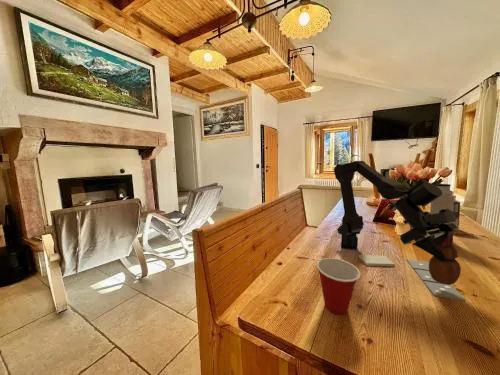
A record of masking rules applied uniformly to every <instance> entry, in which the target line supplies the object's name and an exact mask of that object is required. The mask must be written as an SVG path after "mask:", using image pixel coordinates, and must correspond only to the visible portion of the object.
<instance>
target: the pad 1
mask: <svg viewBox="0 0 500 375" xmlns="http://www.w3.org/2000/svg"><path fill="white" fill-rule="evenodd" d="M406 262H407V263H408V264H409V265H410V267H411V268H412V269H413V270H414V269H417V270H425V271H429V261H424V260H416V259H415V260H414V259H406Z"/></svg>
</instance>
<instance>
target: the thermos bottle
mask: <svg viewBox="0 0 500 375" xmlns="http://www.w3.org/2000/svg"><path fill="white" fill-rule="evenodd" d="M436 186H437V187H438V188H439V189H440V190H441V191H442V193H443V195H442V196H440V197H439V198H437V199H436V200H434V201H433V202H431V203H430V207H429V211H430V212H429V213H430V214H437V213H439V210H442V209H449V210H451V211H453V204H454V201H455V196H454V195H453V191H452V190H451V186H452V185H451V184H450V183H437V184H436ZM451 223H452V222H451ZM440 224H441V223H440ZM430 236H431V235H430Z"/></svg>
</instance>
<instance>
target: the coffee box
mask: <svg viewBox="0 0 500 375" xmlns="http://www.w3.org/2000/svg"><path fill="white" fill-rule="evenodd" d="M460 209H461V202H460V201H458V200H454V204H453V213H455V214H456V216H455V217H454V219H455V222H452V223H454V224H455V225H456V226H457V227H458V229H456V230H455V231H456V232H457V231H459V228H460V227H459V225H460V214H461V212H460V211H461V210H460Z"/></svg>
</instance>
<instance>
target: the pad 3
mask: <svg viewBox="0 0 500 375" xmlns="http://www.w3.org/2000/svg"><path fill="white" fill-rule="evenodd" d="M423 284H424V285H425V286H426V288H427V289H428V290H429V291H430V293H431V294H432V295H433V297H440V298H445V299H450V300H451V299H452V300H457V301H463V302H465V301H466V299H465V297H464V296H463V295H462V294H461V293H459V291H457V288H455V287H454V286H453V284H450V285H446V284H439V283H433V282H426V281H423Z"/></svg>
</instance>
